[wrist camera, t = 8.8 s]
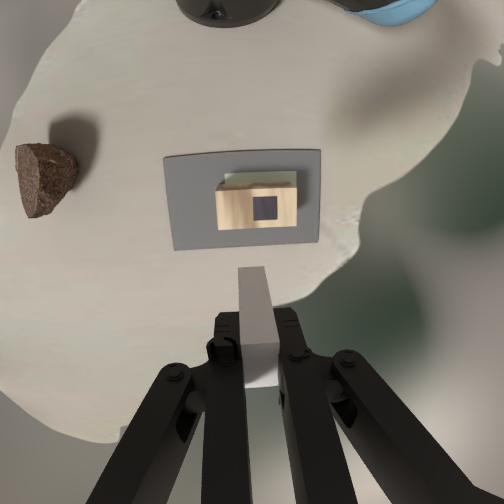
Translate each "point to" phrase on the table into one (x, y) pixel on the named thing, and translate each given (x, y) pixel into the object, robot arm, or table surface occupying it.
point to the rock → (43, 176)
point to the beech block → (256, 205)
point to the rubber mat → (234, 172)
